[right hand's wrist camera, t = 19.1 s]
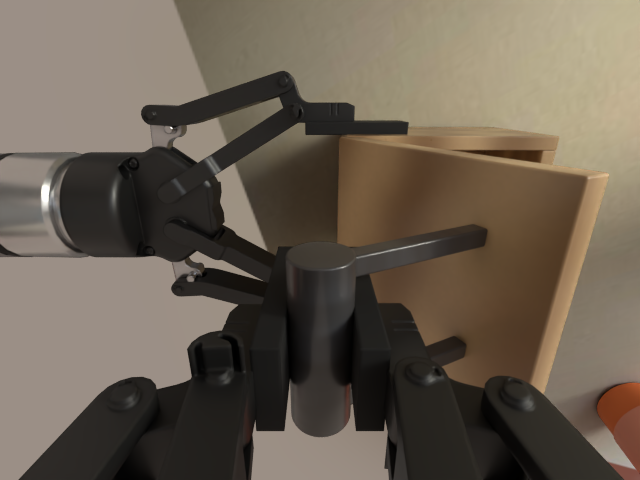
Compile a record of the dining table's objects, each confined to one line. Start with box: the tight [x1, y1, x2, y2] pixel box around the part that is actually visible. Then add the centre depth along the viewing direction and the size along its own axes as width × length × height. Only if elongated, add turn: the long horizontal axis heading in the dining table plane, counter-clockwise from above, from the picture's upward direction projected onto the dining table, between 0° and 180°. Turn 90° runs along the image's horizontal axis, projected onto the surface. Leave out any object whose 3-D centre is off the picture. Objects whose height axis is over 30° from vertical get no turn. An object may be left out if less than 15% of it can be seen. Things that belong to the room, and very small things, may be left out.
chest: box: [342, 127, 559, 165], centre depth 27 cm, size 13×10×9 cm
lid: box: [285, 137, 609, 437], centre depth 15 cm, size 14×10×8 cm
